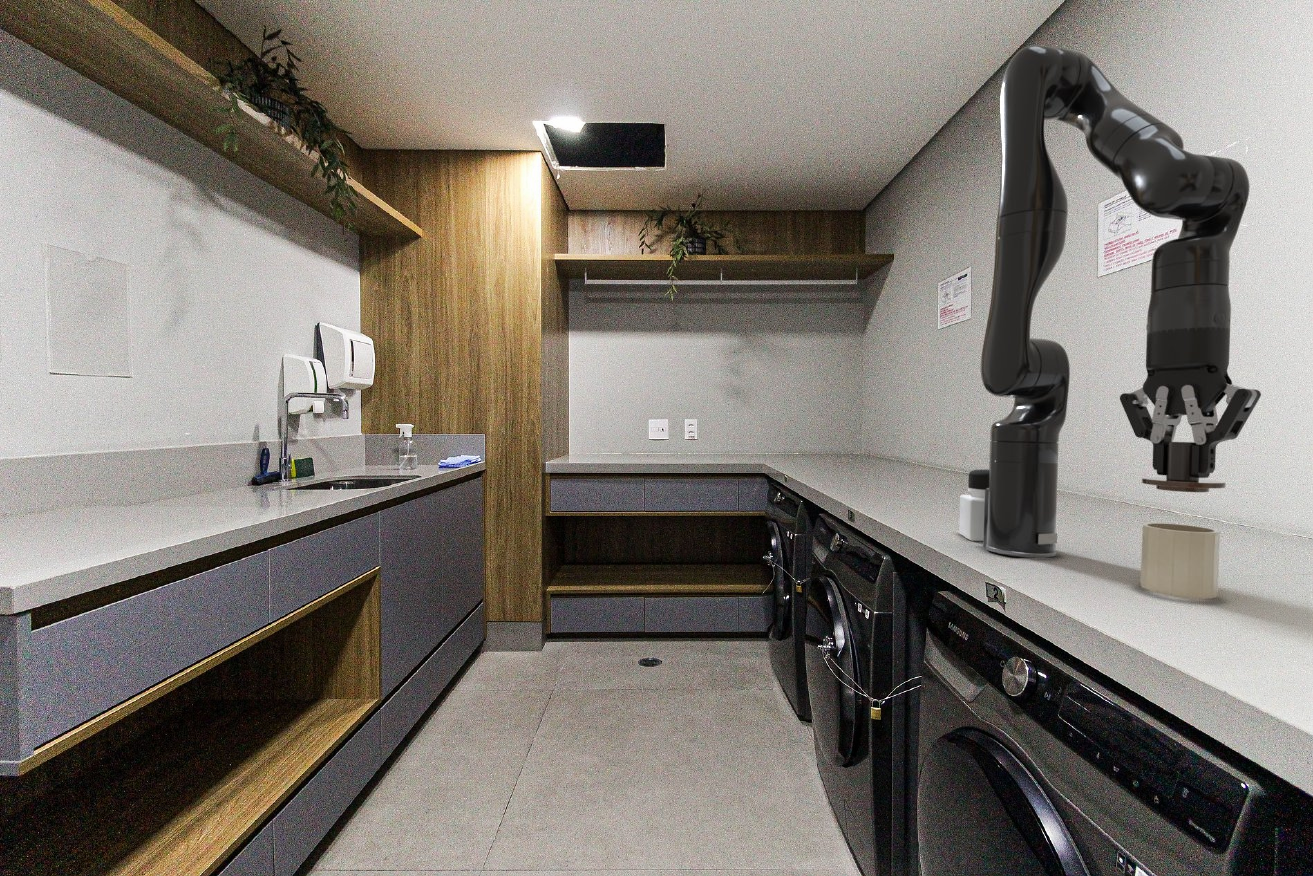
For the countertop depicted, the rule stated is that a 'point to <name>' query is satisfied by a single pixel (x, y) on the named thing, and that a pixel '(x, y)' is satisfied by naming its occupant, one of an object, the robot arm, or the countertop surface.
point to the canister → (1180, 560)
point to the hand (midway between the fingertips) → (1182, 475)
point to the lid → (1181, 472)
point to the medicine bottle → (974, 506)
